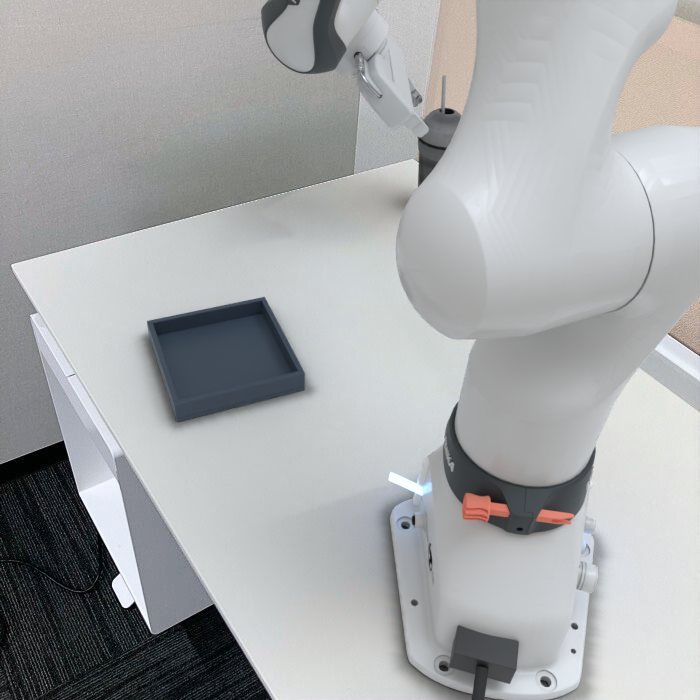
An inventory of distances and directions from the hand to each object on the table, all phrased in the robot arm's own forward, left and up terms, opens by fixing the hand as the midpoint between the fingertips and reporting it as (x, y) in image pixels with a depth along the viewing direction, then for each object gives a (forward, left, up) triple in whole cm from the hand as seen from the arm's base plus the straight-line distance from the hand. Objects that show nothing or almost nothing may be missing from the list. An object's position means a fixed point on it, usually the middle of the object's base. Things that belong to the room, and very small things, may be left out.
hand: (421, 116), depth 102 cm
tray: (-38, +19, -14) cm, 45 cm away
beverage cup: (+1, -3, -15) cm, 15 cm away
